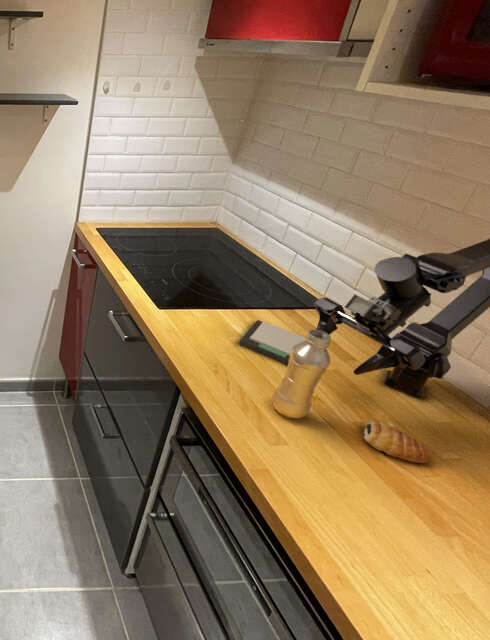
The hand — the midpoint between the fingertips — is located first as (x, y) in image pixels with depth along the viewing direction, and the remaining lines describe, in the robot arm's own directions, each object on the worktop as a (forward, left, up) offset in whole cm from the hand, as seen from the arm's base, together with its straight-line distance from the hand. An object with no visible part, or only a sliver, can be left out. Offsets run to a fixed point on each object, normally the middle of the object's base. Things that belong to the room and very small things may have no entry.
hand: (331, 358), depth 91 cm
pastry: (+1, +13, -13) cm, 19 cm away
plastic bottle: (+5, -3, -13) cm, 15 cm away
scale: (-19, -11, -13) cm, 25 cm away
